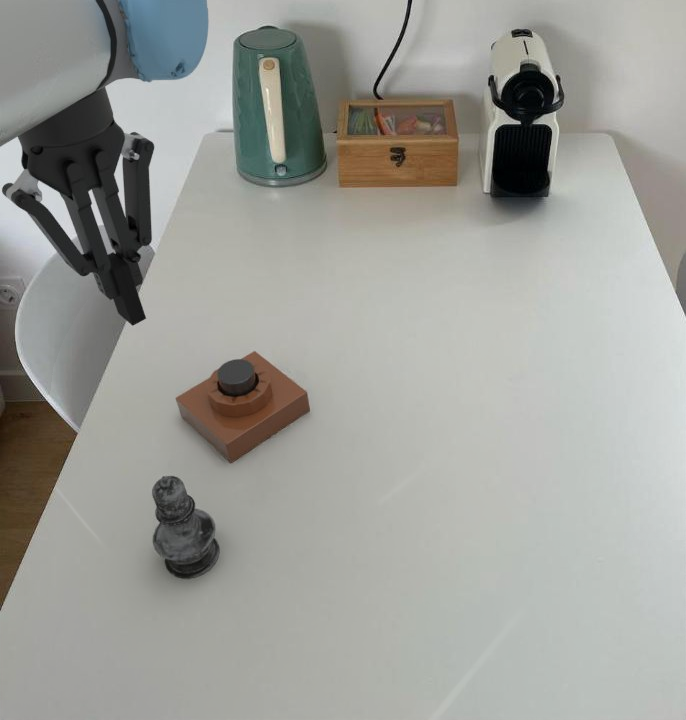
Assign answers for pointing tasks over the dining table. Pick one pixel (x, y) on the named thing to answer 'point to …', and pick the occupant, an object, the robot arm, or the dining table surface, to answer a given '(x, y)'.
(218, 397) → the brown square base plate
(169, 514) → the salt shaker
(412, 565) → the dining table surface
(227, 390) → the button
